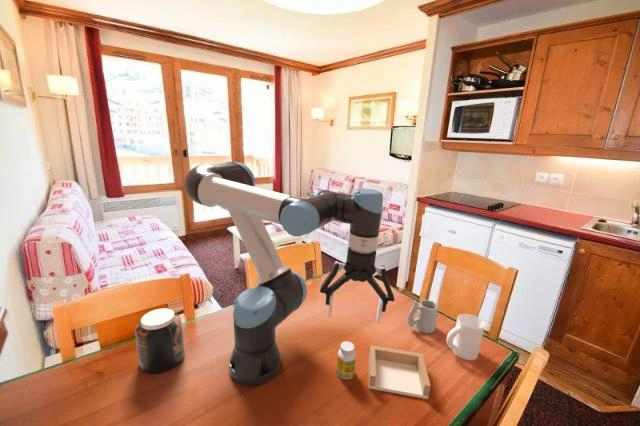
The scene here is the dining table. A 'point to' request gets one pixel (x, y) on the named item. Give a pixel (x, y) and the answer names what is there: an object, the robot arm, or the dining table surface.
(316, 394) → the dining table surface
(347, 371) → the supplement bottle
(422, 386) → the u rest
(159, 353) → the jar
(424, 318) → the mug
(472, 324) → the mug
